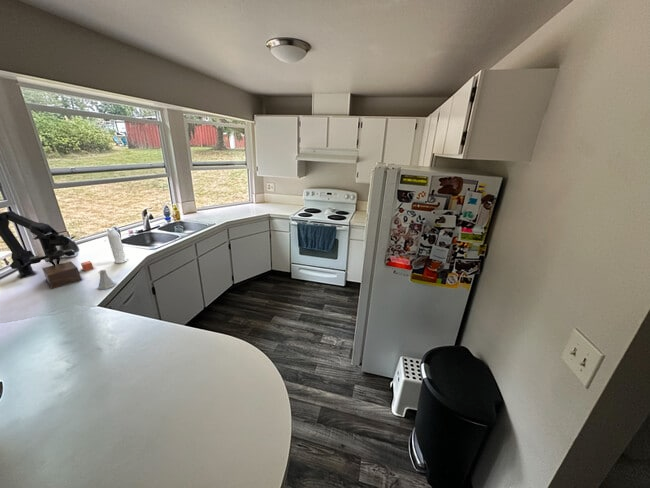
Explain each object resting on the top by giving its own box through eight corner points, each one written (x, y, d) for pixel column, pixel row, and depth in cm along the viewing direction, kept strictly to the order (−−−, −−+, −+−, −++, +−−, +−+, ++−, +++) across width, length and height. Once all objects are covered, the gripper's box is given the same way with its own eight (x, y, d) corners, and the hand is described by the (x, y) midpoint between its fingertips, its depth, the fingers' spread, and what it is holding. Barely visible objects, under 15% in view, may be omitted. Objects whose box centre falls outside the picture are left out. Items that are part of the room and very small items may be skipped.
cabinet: (47, 280, 150) (41, 268, 147) (75, 273, 160) (70, 261, 157) (52, 288, 142) (47, 275, 140) (81, 280, 152) (77, 267, 149)
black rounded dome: (83, 255, 186) (77, 236, 181) (64, 260, 178) (57, 240, 173) (78, 252, 191) (72, 233, 186) (60, 256, 183) (52, 237, 178)
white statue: (116, 260, 179) (106, 227, 171) (127, 258, 183) (118, 226, 174) (113, 265, 172) (103, 230, 164) (125, 263, 176) (116, 229, 167)
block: (82, 269, 166) (80, 263, 164) (91, 267, 169) (89, 260, 167) (84, 271, 163) (82, 264, 162) (93, 268, 167) (91, 262, 165)
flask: (105, 290, 142) (100, 274, 139) (95, 288, 143) (90, 273, 140) (118, 284, 149) (113, 269, 145) (108, 282, 150) (103, 267, 147)
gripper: (27, 253, 139) (38, 278, 144) (73, 244, 153) (81, 267, 158) (24, 248, 145) (34, 272, 150) (68, 240, 159) (76, 262, 164)
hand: (57, 268), depth 156 cm, fingers closed, pressing on drawer
